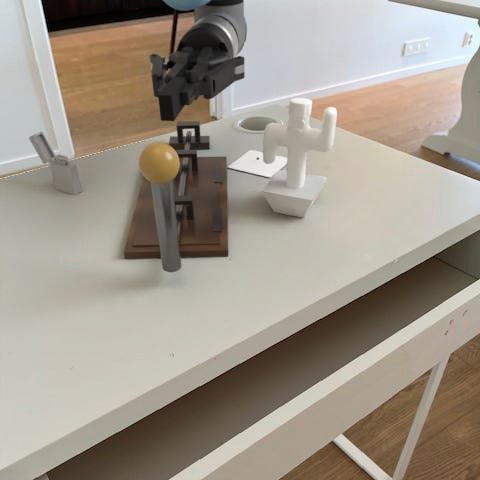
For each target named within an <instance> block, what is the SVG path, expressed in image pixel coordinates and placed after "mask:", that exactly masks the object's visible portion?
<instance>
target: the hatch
mask: <svg viewBox="0 0 480 480" xmlns="http://www.w3.org/2000/svg"><path fill="white" fill-rule="evenodd" d="M175 151H176V153H177V155H178V157H179V161H180V168H179V171H178V174H177V175H176V177H175V178H174V179H173V180H172V181H173V190H174V200H175V209H176V205H183V211H182V220H181V228H180V236H179V247H180V257H181V258H205V257H207V258H209V257H228V256H229V211H228V209H229V207H228V156H198V149H194V150H175ZM188 157H189V161H188V169H187V178H186V186H185V194H184V195H183V196H178V191H179V184H180V177H181V169H182V162H183V158H188ZM123 257H124V259H161V254H160V247H159V240H158V232H157V225H156V217H155V210H154V203H153V195H152V188H151V182H150V181H148V180H147V179H146V178H145V177H144V176H143V175H142V180H141V185H140V188H139V192H138V197H137V200H136V204H135V207H134V211H133V215H132V219H131V222H130V226H129V230H128V233H127V237H126V241H125V245H124V249H123Z"/></svg>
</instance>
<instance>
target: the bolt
mask: <svg viewBox="0 0 480 480" xmlns="http://www.w3.org/2000/svg"><path fill="white" fill-rule="evenodd" d="M192 134H193V133H192V131H190V130H187V131H186V135H185V136H186V141H185V148H184V150H190V144H191V136H193V135H192ZM188 161H189V157H188V158H183V162H182V169H181V177H180V184H179V191H178V196H183V195H184V194H185V186H186V178H187V169H188ZM138 167H139V170H140V172H141V174H142V177H143V176H144V177H145V178H146V179H147V180H148V181H150V182H151V188H152V195H153V203H154V210H155V217H156V225H157V232H158V240H159V247H160V254H161V258H160V261H161V268H162V270H163V271H164V272H166V273H175V272H178V271H180V270H181V268H182V257H180V247H179V236H180V228H181V220H182V211H183V205H176V209H175V200H174V190H173V181H172V180H173V179H174V178H175V177H176V175H177V174H178V171H179V168H180V161H179V157H178V155H177V153H176V151H175V150H174V149H173V148H172V147H171V146H169V143H168V144H167V143H166V142H160V141H156V142H151V143H149V144H148V145H145V147H144V148H143V149H142V151H141V152H140V155H139V158H138Z"/></svg>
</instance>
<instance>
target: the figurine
mask: <svg viewBox="0 0 480 480" xmlns="http://www.w3.org/2000/svg"><path fill="white" fill-rule="evenodd" d="M312 109H313V100H311V99H309V98H306V97H293V98H291V99H290V100H289V105H288V117H289V118H288V120H287V123H286V124H285V123H279V122H270V123H268V124H267V125H266V126H265V128H264V131H263V139H262V141H263V142H262V152H263V161H264V163H266V164H271V163H273V162H274V161H275V158H276V155H277V147H278V146H279V147H284V148H287V149H286V150H287V155H286V158H287V164H286V170H284V169H279V171H278V172H277V173H275V174H274V175H273V176H272V177H271V179H270V180H269V181H268V183H267V184H266V185H265V186H264V187H263V188H262V190H261V192H262V194H263V196H264V197H265V199H266V201H267V202H268V204H269V206H270V208H271V210H273V212H274V213H278V214H283V215H288V216H293V217H298V218H303V219H304V218H305V217H306V215H307V214H308V212H309V210H310V209H311V208H312V206H313V204H314V202H315V201H316V199H317V197H318V195H319V194H320V192H321V190H322V189H323V186H324V185H325V183H326V181H327V180H328V177H327V176H322V175H321V176H320V175H315V174H310V173H306V169H307V157H308V151H310V152H311V151H312V152H316V153H317V152H318V153H328V152H330V151H331V150H332V148H333V145H334V142H335V138H336V137H335V135H336V126H337V118H338V111H337V108H336V107H334V106H328V107H327V108H325V110H324V111H323V115H322V123H321V128H315V127H311V125H310V118H311V117H310V116H311V115H312Z"/></svg>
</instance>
